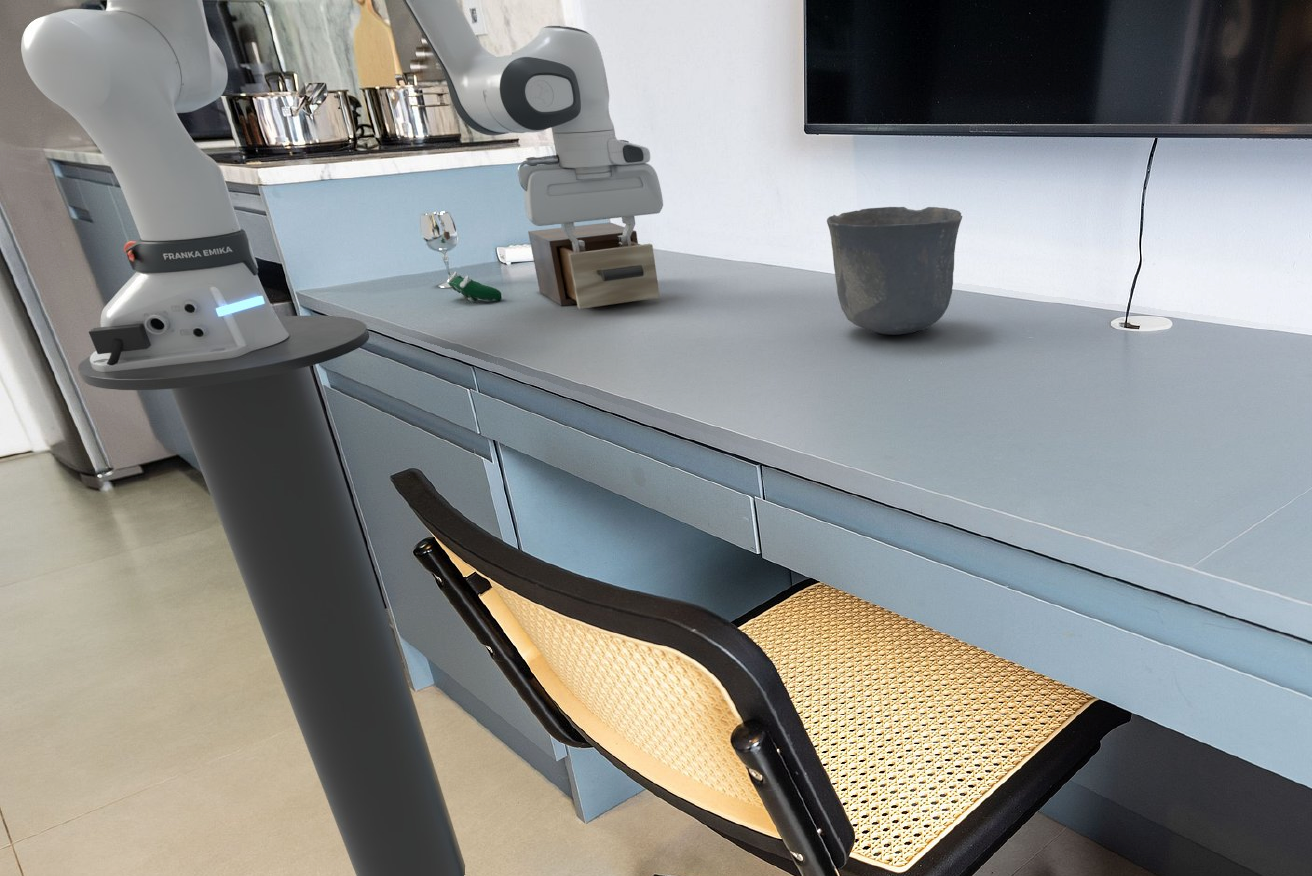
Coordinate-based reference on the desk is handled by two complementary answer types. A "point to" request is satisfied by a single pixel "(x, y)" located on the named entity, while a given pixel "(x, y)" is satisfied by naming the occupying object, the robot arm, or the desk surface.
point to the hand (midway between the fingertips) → (603, 250)
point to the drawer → (608, 273)
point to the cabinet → (548, 257)
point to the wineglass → (439, 235)
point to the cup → (894, 266)
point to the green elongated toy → (473, 289)
